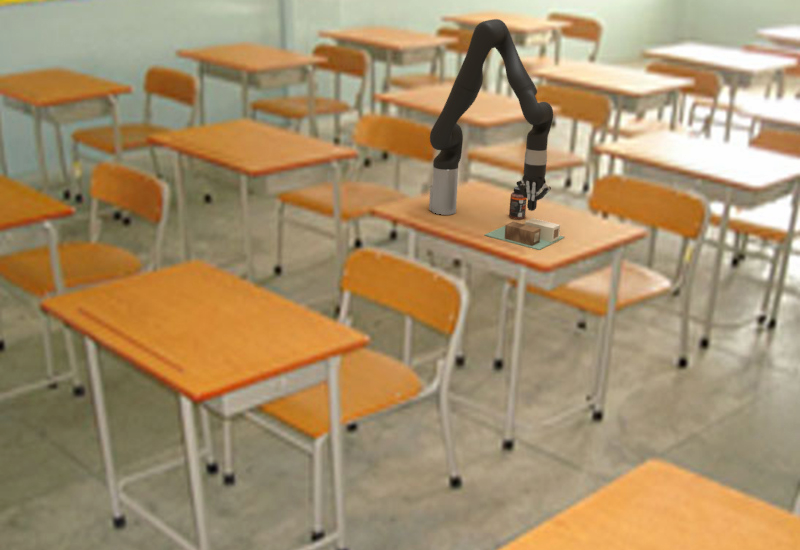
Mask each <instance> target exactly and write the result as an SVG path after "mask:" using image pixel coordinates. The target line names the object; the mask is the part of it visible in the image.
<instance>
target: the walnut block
mask: <svg viewBox="0 0 800 550" xmlns="http://www.w3.org/2000/svg"><path fill="white" fill-rule="evenodd" d="M504 226H505V239H508V240H511V241H515V242H519V243H523V244H526V245H530V246H533V245H535V244H537V243H539V242H540V232H541V228H537V227H533V226H529V225H525V223H521V222H516V221H511V222H509V223H506V224H505V225H504Z"/></svg>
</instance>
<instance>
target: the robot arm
mask: <svg viewBox="0 0 800 550" xmlns="http://www.w3.org/2000/svg"><path fill="white" fill-rule="evenodd" d="M472 32H473V33H472V36H471V38H470V43H469V46H468V49H467V52H466V55H465V57H464V60H463V62H462V64H461V67H460V69H459V72H458V74H457V76H456V78H455V80H454V82H453V84H452V87H451V89H450V93H449V94H448V97H447V99H446V101H445V103H444V106H443V108H442V111H441V112H440V114H439V116H438V118H437V119H436V120H435V122H434V124H433V126H432V128H431V131H430V133H429V142H430V145H431V147H432V148H433V149H434V150H437V151H440V152H439V153H438V154H437V155H436V156H435V158H433V160H432V161H433V162H432V163H433V164H432V184H431V185H430V187H429V201H428V202H429V204H428V205H429V207H428V210H430V212H431V213H432V214H435V213H436V214H435V215H439V214H441V216H449V215H455V214H456V213H457V203H458V202H457V199H458V182H459V181H458V180H459V163H460V161H461V158H462V151H463V150H462V149H463V141H464V138H463V137H464V136H463V135H464V133H463V130H462V127H461V126H460V125H459V124H458V121H459V120H460V118H461V117H462V116H463V115H464V114H465V113H466V112H467V111H468V110H469V109H470V108H471V106H472V105H473V104H474V102H475V101H476V99H477V97H478V95H479V93H480V91H481V88H482V85H483V80H484V79H483V77H484V71H483V69H484V64H485V61H486V59H487V58H488V56H489V54H490V51H491V50H492V49H494V48H495V49H496V50H497V52H498V53H499V55H500V56H501V58H502V61H503V64H504V69H505V73H506V78H507V82H508V84H509V86H510V87H511V89H512V91H513V92H514V94H515V97H516V98H517V99H518V103H519V106H520V109H521V112H522V115H523V117H524V119H525V121H527V122H528V124H530V125H531V126H532V128H531V129H530V130H529V131H528V132H527V136H526V145H525V146H526V147H525V152H524V161H523V162H524V163H523V175H522V178H521V179H520V180H518V181H516V187H518V188H519V189H520V191H521V193H522V195H523V197H526V198H527V203H526V209H528V211H530V212H533V211H535V210H536V209H537V206H538V205H537V204H538V203H537V202H538V201H539V200H542V199H543V198H544V197H545V196H546V195H547V194H548V193H549V192H550V191H551V189H552V187H551V186H548V185H547V183H546V178H545V177H546V176H547V175H546V174H547V173H546V172H547V164H548V163H547V161H548V137H549V133H550V132H551V127H552V123H553V120H554V110H553V106H552V105H551V104H550V103H548V102H546V101H540V102H538V100H537V97H536V96H537V94H538V88H537V87H536V85H535V83H534V81H533V80H532V78H531V76H530V75H529V73H528V71H527V69H526V68H525V65H524V64H523V62H522V60H521V58H520V55H519V53H518V51H517V48H516V45H515V44H514V43H515V42H514V41H513V38H512V35H511V33H510V31H509V28H508V27H507V24H506V23H505V22H504V21H503V20H502V19H499V18H494V19H488V20H483V21H481V22H479V23H478V24H477V25H476V26H475V28H474V30H473V31H472ZM541 190H542V191H541Z"/></svg>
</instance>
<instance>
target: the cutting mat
mask: <svg viewBox="0 0 800 550" xmlns="http://www.w3.org/2000/svg"><path fill="white" fill-rule="evenodd" d="M484 236H485V237H489V238H492V239H496V240H499V241H502V242H503V241H504V242H507V243H509V244H510V243H511V244H515V245H519V246H522V247H526V248H529V249H533V250H536V251H541V250H543V249H545V248H547V247H549V246H552V245H553V244H554V243H555V244H556V242H557V243H558V242H559V241H561V240H563V239H565V236H562V235H559V239H557V240H555V241H553V242H549V241H545V240H541V239H540V242H539V243H537V244H535V245H533V246H530V245H526V244H523V243H519V242H515V241H511V240H508V239H505V225H504V226H501V227H497V228H496V229H493V230H492V231H490V232H487V233H485V234H484Z"/></svg>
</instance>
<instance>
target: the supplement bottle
mask: <svg viewBox="0 0 800 550" xmlns="http://www.w3.org/2000/svg"><path fill="white" fill-rule="evenodd" d="M509 200H510V201H509V212H508V216H509V218H511V219H512V220H513V219H514V220H523V219H525V218H526V213H527V211H526V210H527V202H528V199H527V198H526V197H523V195H522V193H521V191H520V189H519V188H518V186H515V187H513V192H512V193H510V199H509Z"/></svg>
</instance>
